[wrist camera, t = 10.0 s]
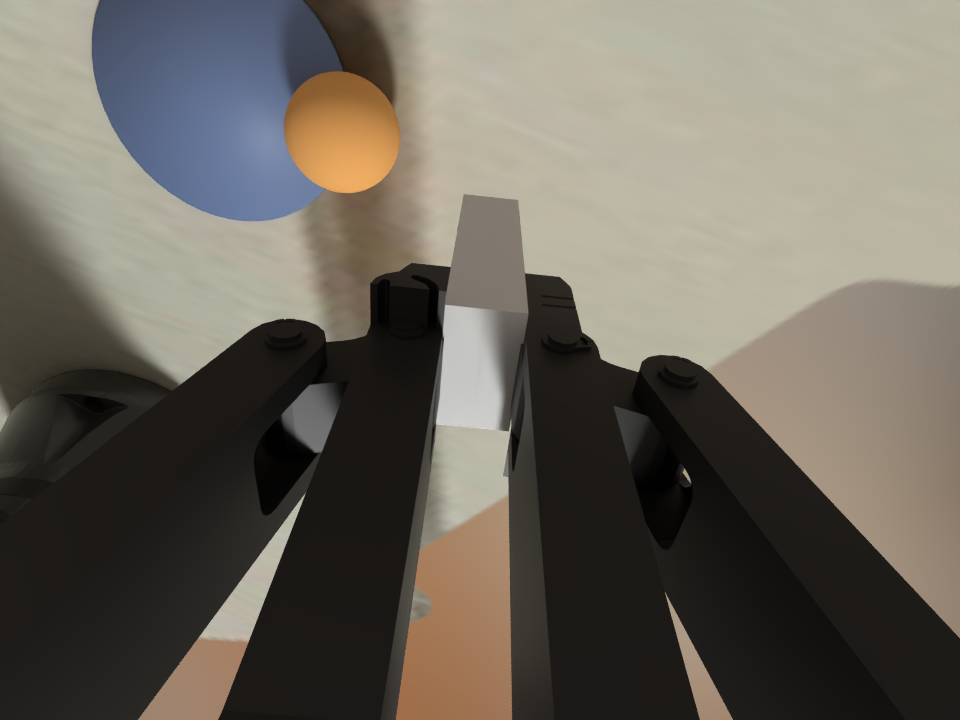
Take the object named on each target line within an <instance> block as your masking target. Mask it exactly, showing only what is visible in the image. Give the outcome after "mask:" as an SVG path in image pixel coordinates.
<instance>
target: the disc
mask: <svg viewBox="0 0 960 720" xmlns="http://www.w3.org/2000/svg"><path fill="white" fill-rule="evenodd" d="M92 60H93V70H94V76H95V80H96V84H97V89H98V92H99V95H100V98H101V101H102V104H103V107H104V110H105V112H106V114H107V116H108V118H109V120H110V123H111V125H112V127H113V128H114V130H115V132H116V133H117V135H118V137H119V139H120V140H121V142H122V143H123V145H124V146H125V147H126V149H127V150H128V152H129V153H130V154H131V156H132V157H133V158H134V159H135V160H136V162H137V163H138V164H139V165H140V166H141V167H142V168H143V170H144V171H145V172H146V173H148V174H149V175H150V176H151V177H152V178H153V179H154V180H155V181H156V182H157V183H158V184H160V185H161V186H162V187H163V188H165V189H166V190H167V191H169V192H170V193H171V194H173V195H174V196H176V197H178V198H179V199H181V200H182V201H184V202H186V203H188V204H190V205H192V206H194V207H196V208H198V209H200V210H202V211H205V212H207V213H210V214H213V215H216V216H220V217H224V218H228V219H233V220H241V221H264V220H272V219H276V218H280V217H283V216H287V215H289V214H291V213H294V212H296V211H298V210H300V209H302V208H303V207H305V206H306V205H308V204H309V203H311V202H312V201H313V200H314V199H315V198H317V197H318V196H319V195H320V194H321V193H322V192H323V191H324V189H325V188H323V187H321V186H319V185H317V184H315V183H314V182H312V181H311V180H310V179H308V178H307V177H306V176H305V175H304V174H303V173H302V172H301V171H300V170H299V168H298V167H297V166H296V164H295V163H294V161H293V159H292V157H291V156H290V153H289V151H288V148H287V145H286V141H285V135H284V118H285V113H286V109H287V106H288V103H289V101H290V99H291V97H292V96H293V94H294V93H295V91H296V90H297V89H298V88H299V87H300V86H301V85H302V84H303V83H304V82H306V81H307V80H308V79H310V78H312V77H314V76H316V75H318V74H321V73H325V72H333V71H341V72H344V71H343V68H342V66H341V63H340V60H339V57H338V55H337V52H336V50H335V48H334V46H333V44H332V42H331V40H330V38H329V36H328V34H327V32H326V31H325V29H324V27H323V26H322V24H321V23H320V21H319V20H318V18H317V16H316V15H315V14H314V13H313V11H312V10H311V9H310V8H309V6H308V5H307V4H306V3H305V1H304V0H101V2H100V4H99V8H98V11H97V14H96V17H95V22H94V28H93V35H92Z"/></svg>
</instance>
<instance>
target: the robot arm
mask: <svg viewBox="0 0 960 720" xmlns="http://www.w3.org/2000/svg"><path fill="white" fill-rule="evenodd" d="M573 299H574V298H573V294H572V290H571V287H570V286H569V285H568V284H567V283H566V282H565V281H564V280H563V279H561V278H560V277H554V276H545V275H535V274H526V273H525V270H524V259H523V248H522V237H521V227H520V216H519V205H518V200H512V199H503V198H493V197H484V196H475V195H466V194H464V196H463V202H462V208H461V213H460V219H459V225H458V230H457V236H456V241H455V247H454V253H453V258H452V264H451V267H444V266H435V265H425V264H416V263H411V264H409V265H408V266H406V267H405V268H404V269H402V270H401V271H399V272H393V273H386V274H384V275H381V276H379V277H377V278H375V279H374V280H373V281H372V282H371V283H370V307H371V325H370V328H369V330H368V333H367V335H366V336H364V337H360V338H357V339H352V340H345V341H335V342H326V338H325V333H324V331H323V330H322V329H321V328H320V327H319V326H317V325H315V324H312V323H310V322H307V321H302V320H295V319H286V320H284V319H279V320H275V321H272V322H268V323H264V324H261V325H260V326H258V327H256V328H254V329H252V330H251V331H249V332H248V333H247V334H245V335H244V336H243V337H242V338H240V339H239V340H238V341H236V342H235V343H234V344H233V345H231V346H230V347H229V348H227V349H226V350H225V351H223V352H222V353H221V354H220V355H218V356H217V357H216V358H214V359H213V360H212V361H211V362H209V363H208V364H207V365H205V366H204V367H203V368H202V369H200V370H199V371H198V372H196V373H195V374H194V375H192V376H191V377H190V378H189V379H187V380H186V381H185V382H183V383H182V384H181V385H180V386H178V387H177V388H176V389H174V390H173V391H172V392H169V391H168V390H166V389H164V388H162V387H160V386H157V385H155V384H153V383H151V382H148V381H146V380H143V379H140V378H137V377H134V376H130V375H126V374H122V373H117V372H111V371H102V370H81V371H73V372H68V373H63V374H60V375H57V376H55V377H52V378H50V379H48V380H47V381H45V382H44V383H42V384H41V385H39V386H38V387H37V388H36V389H35V390H34V391H32V392H31V393H30V394H29V395H28V396H27V397H25V398H24V399H23V400H22V401H21V402H20V403H19V404H18V405H17V406H16V407H15V408H14V409H13V410H12V412H11V413H10V415H9V416H8V418H7V420H6V422H5V424H4V426H3V428H2V430H1V432H0V720H138V719H139V717H140V716H141V715H142V713H143V712H144V710H145V709H146V708H147V706H148V705H149V704H150V702H151V701H152V700H153V698H154V697H155V696H156V694H157V693H158V692H159V690H160V689H161V688H162V686H163V685H164V683H165V682H166V681H167V680H168V678H169V677H170V675H171V674H172V673H173V671H174V670H175V669H176V667H177V666H178V665H179V663H180V662H181V661H182V659H183V658H184V656H185V655H186V654H187V652H188V651H189V650H190V648H191V647H192V645H193V644H194V643H195V642H196V640H197V639H198V638H199V636H200V635H201V633H202V632H203V631H204V629H205V628H206V627H207V625H208V624H209V623H210V621H211V620H212V619H213V617H214V616H215V615H216V613H217V612H218V610H219V609H220V608H221V606H222V605H223V604H224V602H225V601H226V600H227V598H228V597H229V596H230V594H231V593H232V592H233V590H234V589H235V587H236V586H237V585H238V583H239V582H240V581H241V579H242V578H243V577H244V575H245V574H246V573H247V571H248V570H249V569H250V567H251V566H252V564H253V563H254V562H255V560H256V559H257V558H258V556H259V555H260V554H261V552H262V551H263V550H264V548H265V547H266V545H267V544H268V543H269V541H270V540H271V539H272V537H273V536H274V535H275V533H276V532H277V531H278V529H279V528H280V527H281V525H282V524H283V522H284V521H285V520H286V518H287V517H288V516H289V514H290V513H291V512H292V510H293V509H294V508H295V506H296V505H297V504H298V502H299V501H300V499H301V498H302V497H303V495H304V494H305V493H306V494H305V497H304V499H303V502H302V505H301V507H300V510H299V512H298V515H297V518H296V520H295V523H294V525H293V528H292V531H291V533H290V536H289V539H288V541H287V544H286V546H285V549H284V552H283V554H282V557H281V559H280V562H279V565H278V567H277V570H276V572H275V575H274V578H273V580H272V583H271V585H270V588H269V591H268V593H267V596H266V598H265V601H264V604H263V606H262V609H261V611H260V614H259V617H258V619H257V622H256V624H255V627H254V630H253V632H252V635H251V637H250V640H249V643H248V645H247V648H246V650H245V654H244V656H243V658H242V661H241V664H240V666H239V669H238V672H237V674H236V677H235V679H234V682H233V684H232V687H231V690H230V692H229V695H228V697H227V700H226V703H225V705H224V708H223V710H222V713H221V715H220V717H219V719H218V720H396V714H397V705H398V698H399V692H400V685H401V678H402V671H403V664H404V656H405V649H406V642H407V635H408V628H409V621H410V614H411V607H412V599H413V592H414V585H415V578H416V571H417V563H418V556H419V549H420V542H421V535H422V528H423V521H424V514H425V507H426V500H427V492H428V485H429V478H430V471H431V464H432V457H433V450H434V443H435V430H436V424H440V425H450V426H460V427H471V428H481V429H491V430H502V431H509V427H510V421H511V424H512V427H511V433H510V439H509V445H508V451H507V457H506V463H505V468H504V474H503V476H506V477H508V478H509V538H510V542H509V543H510V606H511V665H512V667H511V669H512V671H511V672H512V720H700V719H699V715H698V712H697V708H696V704H695V701H694V698H693V693H692V690H691V686H690V682H689V679H688V675H687V672H686V668H685V664H684V661H683V657H682V653H681V650H680V646H679V642H678V639H677V635H676V632H675V628H674V624H673V620H672V617H671V614H670V610H669V606H668V602H667V599H666V595H665V592H666V594H667V596H668V598H669V600H670V602H671V604H672V606H673V608H674V609H675V611H676V613H677V615H678V617H679V619H680V621H681V623H682V624H683V626H684V628H685V630H686V632H687V634H688V636H689V638H690V640H691V641H692V643H693V645H694V647H695V649H696V651H697V653H698V655H699V656H700V658H701V660H702V662H703V664H704V666H705V668H706V670H707V671H708V673H709V675H710V677H711V679H712V681H713V683H714V685H715V686H716V688H717V690H718V692H719V694H720V696H721V698H722V699H723V702H724V703H725V705H726V707H727V709H728V711H729V713H730V715H731V716H732V718H733V720H960V638H959V637H958V636H957V635H956V634H955V633H954V632H953V631H952V630H951V629H950V627H949V626H948V625H947V624H946V623H945V622H944V621H943V620H942V619H941V618H940V617H939V616H938V615H937V614H936V613H935V612H934V610H933V609H932V608H931V607H930V606H929V605H928V604H927V603H926V602H925V601H924V600H923V599H922V598H921V597H920V596H919V594H918V593H917V592H916V591H915V590H914V589H913V588H912V587H911V586H910V585H909V584H908V583H907V582H906V581H905V580H904V579H903V577H902V576H900V574H899V573H898V572H897V571H896V570H895V569H894V568H893V567H892V566H891V565H890V564H889V563H888V562H887V560H885V558H884V557H883V556H882V555H881V554H880V553H879V552H878V551H877V550H876V549H875V548H874V547H873V546H872V544H871V543H869V541H868V540H867V539H866V538H865V537H864V536H863V535H862V534H861V533H860V532H859V531H858V530H857V529H856V528H855V526H854V525H853V524H852V523H851V522H850V521H849V520H848V519H847V518H846V517H845V516H844V515H843V514H842V513H841V512H840V511H839V509H837V507H836V506H835V505H834V504H833V503H832V502H831V501H830V500H829V499H828V498H827V497H826V496H825V495H824V494H823V492H822V491H821V490H820V489H819V488H818V487H817V486H816V485H815V484H814V483H813V482H812V481H811V480H810V479H809V478H808V476H807V475H806V474H805V473H804V472H803V471H802V470H801V469H800V468H799V467H798V466H797V465H796V464H795V463H794V462H793V460H792V459H791V458H790V457H789V456H788V455H787V454H786V453H785V452H784V451H783V450H782V449H781V448H780V447H779V446H778V444H776V443H775V441H774V440H773V439H772V438H771V437H770V436H769V435H768V434H767V433H766V432H765V431H764V430H763V429H762V427H761V426H759V424H758V423H757V422H756V421H755V420H754V419H753V418H752V417H751V416H750V415H749V414H748V413H747V412H746V411H745V410H744V408H743V407H742V406H741V405H740V404H739V403H738V402H737V401H736V400H735V399H734V398H733V397H732V396H731V395H730V393H728V392H727V390H726V389H725V388H724V387H723V386H722V385H721V384H720V383H719V382H718V381H717V380H716V379H715V377H714V376H713V375H712V374H710V373H709V372H708V371H707V370H705V369H704V368H703V367H702V366H700V365H698V364H696V363H693V362H691V361H690V360H688V359H685V358H680V357H678V356H666V355H658V356H652V357H648V358H647V359H645V360H644V361H642V363H641V367H640V370H639V372H636V371H632V370H629V369H625V368H622V367H618V366H616V365H613V364H610V363H608V362H606V361H604V360H602V359H601V358H600V354H599V351H598V347H597V346H596V344H595V342H594V341H593V340H592V339H591V338H590V337H588V336H587V335H585V334H584V333H582V330H581V326H580V322H579V318H578V314H577V310H576V306H575V302H574V300H573ZM684 468H685V469H686V471H687V473H688V475H689V477H690V480H691V483H690V482H689V481H688V480H687V478H686V477H685V475H684V474H683V471H684ZM306 491H307V492H306Z"/></svg>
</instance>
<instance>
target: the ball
mask: <svg viewBox="0 0 960 720" xmlns="http://www.w3.org/2000/svg"><path fill="white" fill-rule="evenodd" d="M284 135H285V141H286V145H287V148H288V151H289V153H290V156H291V157H292V159H293V161H294V163H295V164H296V166H297V167H298V168H299V170H300V171H301V172H302V173H303V174H304V175H305V176H306V177H307V178H308V179H310V180H311V181H312V182H314V183H315V184H317V185H319V186H321V187H323V188H325V189H328V190H331V191H334V192H341V193H354V192H359V191H363V190H366V189H368V188H370V187H372V186H374V185H376V184H377V183H379V182H380V181H381V180H382V179H383V178H384V177H385V176H386V175H387V174H388V173H389V171H390V170H391V168H392V167H393V165H394V163H395V160H396V158H397V155H398V151H399V146H400V130H399V123H398V120H397V116H396V114H395V111H394V109H393V107H392V105H391V104H390V102H389V100H388V99H387V97H386V96H385V95H384V94H383V93H382V92H381V90H380V89H379V88H377V87H376V86H375V85H374V84H373V83H371V82H370V81H368V80H366V79H365V78H363V77H360V76H358V75H356V74H353V73H349V72H341V71H333V72H325V73H321V74H318V75H316V76H314V77H312V78H310V79H308V80H307V81H306V82H304V83H303V84H302V85H301V86H300V87H299V88H298V89H297V90H296V91H295V93H294V94H293V96H292V97H291V99H290V101H289V103H288V106H287V109H286V113H285V118H284Z"/></svg>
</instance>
